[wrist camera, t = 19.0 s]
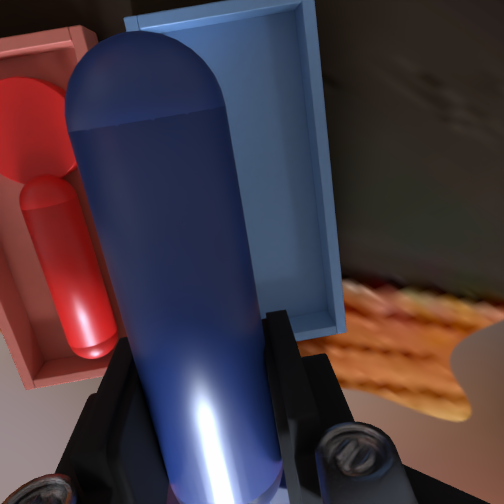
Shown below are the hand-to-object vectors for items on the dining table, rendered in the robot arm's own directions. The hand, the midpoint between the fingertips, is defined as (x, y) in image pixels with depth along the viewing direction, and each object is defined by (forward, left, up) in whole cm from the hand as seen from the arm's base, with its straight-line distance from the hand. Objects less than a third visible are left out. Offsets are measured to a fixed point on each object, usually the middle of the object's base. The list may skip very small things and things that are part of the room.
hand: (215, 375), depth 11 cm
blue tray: (+2, +2, -15) cm, 15 cm away
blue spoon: (0, 0, 0) cm, 0 cm away
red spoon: (-8, +2, -15) cm, 17 cm away
